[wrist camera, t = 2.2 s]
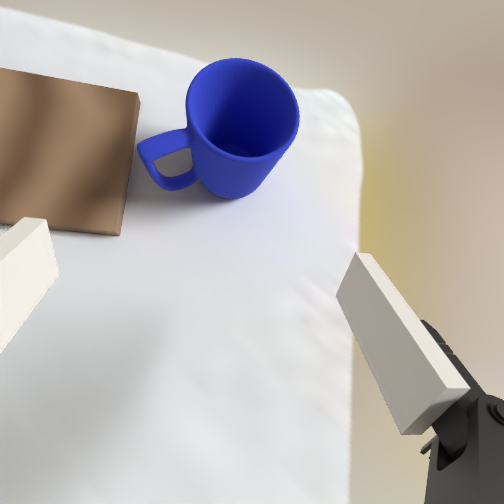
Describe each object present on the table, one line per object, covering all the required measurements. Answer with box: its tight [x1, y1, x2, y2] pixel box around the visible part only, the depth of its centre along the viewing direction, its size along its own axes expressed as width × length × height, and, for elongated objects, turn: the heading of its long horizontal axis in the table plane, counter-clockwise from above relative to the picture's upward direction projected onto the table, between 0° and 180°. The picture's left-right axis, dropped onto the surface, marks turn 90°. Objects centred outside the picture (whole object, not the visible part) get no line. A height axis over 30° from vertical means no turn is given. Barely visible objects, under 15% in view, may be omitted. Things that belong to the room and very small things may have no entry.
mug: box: [137, 58, 300, 199], centre depth 24 cm, size 8×12×10 cm
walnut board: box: [0, 68, 140, 236], centre depth 26 cm, size 18×14×2 cm
